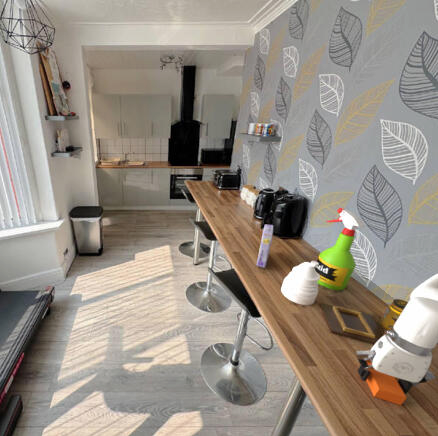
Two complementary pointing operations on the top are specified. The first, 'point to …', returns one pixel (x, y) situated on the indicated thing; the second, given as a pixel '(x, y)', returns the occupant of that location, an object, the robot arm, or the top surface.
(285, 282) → the honey pot
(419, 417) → the top surface
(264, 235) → the cake pan box
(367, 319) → the board
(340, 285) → the spray bottle
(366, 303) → the top surface
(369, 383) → the pad
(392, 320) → the condiment
